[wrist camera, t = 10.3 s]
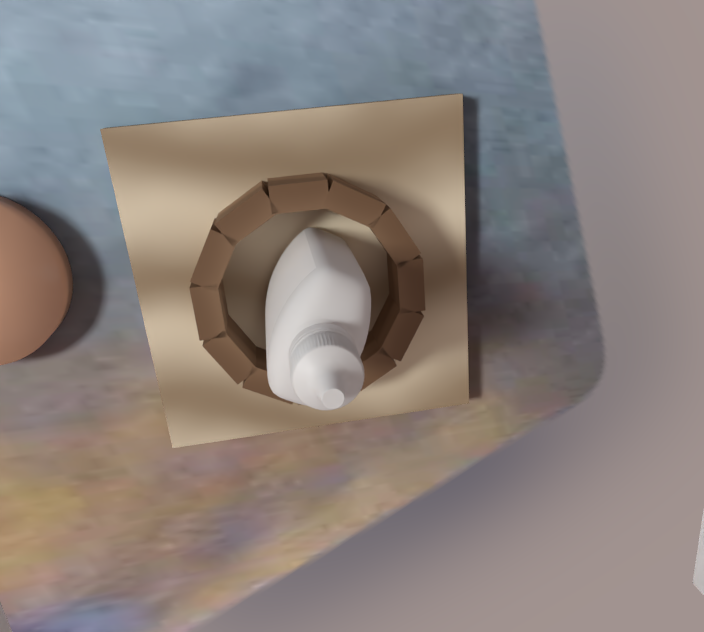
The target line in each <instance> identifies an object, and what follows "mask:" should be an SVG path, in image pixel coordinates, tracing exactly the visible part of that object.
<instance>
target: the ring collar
mask: <svg viewBox="0 0 704 632" xmlns="http://www.w3.org/2000/svg"><path fill="white" fill-rule="evenodd" d="M100 130H101V135H102V139H103V143H104V148H105V152H106V157H107V161H108V165H109V170H110V174H111V179H112V183H113V187H114V192H115V196H116V201H117V205H118V209H119V214H120V218H121V223H122V227H123V231H124V236H125V240H126V244H127V249H128V253H129V258H130V262H131V266H132V271H133V275H134V280H135V284H136V288H137V293H138V297H139V302H140V306H141V310H142V315H143V319H144V324H145V328H146V332H147V337H148V341H149V346H150V350H151V354H152V359H153V363H154V368H155V372H156V376H157V381H158V385H159V390H160V394H161V398H162V403H163V407H164V412H165V416H166V420H167V425H168V429H169V434H170V438H171V442H172V447H173V448H176V447H183V446H190V445H196V444H203V443H210V442H216V441H223V440H229V439H236V438H243V437H249V436H256V435H263V434H269V433H276V432H282V431H289V430H296V429H302V428H309V427H315V426H322V425H329V424H335V423H342V422H349V421H355V420H362V419H368V418H375V417H382V416H388V415H395V414H401V413H408V412H415V411H421V410H428V409H435V408H441V407H448V406H454V405H461V404H468V403H469V374H468V326H467V278H466V230H465V181H464V133H463V94H448V95H438V96H427V97H417V98H407V99H397V100H387V101H376V102H366V103H356V104H346V105H335V106H325V107H315V108H305V109H294V110H284V111H274V112H264V113H253V114H243V115H233V116H223V117H212V118H202V119H192V120H182V121H172V122H161V123H151V124H141V125H131V126H120V127H110V128H103V129H100ZM309 227H312V228H318V229H321V230H323V231H326V232H328V233H331V234H333V235H336V236H338V237H340V238H342V239H343V240H344V241H346V243H347V245H348V246H349V248H350V250H351V252H352V253H353V255H354V257H355V259H356V260H357V262H358V264H359V266H360V268H361V270H362V271H363V273H364V275H365V278H366V280H367V282H368V285H369V287H370V293H371V317H370V325H369V330H368V335H367V339H366V343H365V346H364V349H363V351H362V353H361V356H360V358H361V361H362V363H363V366H364V373H365V375H364V377H365V378H364V382H363V386H362V389H361V390H360V392H359V394H358V395H357V396H356V398H354V400H352V401H351V402H350V403H348V404H347V405H345V406H343V407H342V408H338V409H335V410H327V411H326V410H323V411H322V410H318V409H315V408H312V407H308V406H306V405H301V404H298V403H294V402H291V401H288V400H285V399H283V398H280V397H278V396H277V395H276V394H274V393H273V392H272V390H271V388H270V386H269V383H268V376H267V361H266V326H265V305H266V296H267V290H268V286H269V282H270V279H271V276H272V273H273V271H274V268H275V266H276V264H277V262H278V260H279V258H280V257H281V255H282V254H283V252H284V251H285V249H286V248H287V247H288V245H289V244H290V243H291V242H292V240H293V239H294V238H295V237H296V236H297V235H298V234H299V233H300V232H302V231H303V230H304V229H306V228H309Z"/></svg>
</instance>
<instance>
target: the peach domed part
mask: <svg viewBox="0 0 704 632" xmlns="http://www.w3.org/2000/svg"><path fill="white" fill-rule="evenodd" d="M72 292H73V277H72V272H71V266H70V263H69V260H68V257H67V255H66V253H65V251H64V248H63V246H62V245H61V243H60V242H59V240H58V238H57V237H56V235H55V234H54V233H53V232H52V231H51V229H50V228H49V227H48V226H47V225H46V224H45V223H44V222H43V221H42V220H41V219H40V218H39V217H37V216H36V215H35V214H33V213H32V212H31V211H29V210H28V209H26V208H25V207H23V206H21V205H20V204H18V203H16V202H14V201H12V200H9V199H7V198H5V197H2V196H0V365H4V364H8V363H11V362H15V361H17V360H20V359H22V358H24V357H26V356H28V355H29V354H31V353H33V352H34V351H36V350H37V349H38V348H39V347H40V346H41V345H43V344H44V342H45V341H46V340H47V339H48V338H49V337H50V336H51V335H52V333H53V332H54V331H55V330H56V329H57V328H58V327H59V325H60V324H61V322H62V321H63V319H64V318H65V316H66V314H67V311H68V309H69V307H70V303H71V299H72Z"/></svg>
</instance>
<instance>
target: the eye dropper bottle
mask: <svg viewBox="0 0 704 632" xmlns="http://www.w3.org/2000/svg"><path fill="white" fill-rule="evenodd" d="M370 317H371V293H370V287H369V285H368V282H367V280H366V278H365V275H364V273H363V271H362V270H361V268H360V266H359V264H358V262H357V260H356V259H355V257H354V255H353V253H352V252H351V250H350V248H349V246H348V245H347V243H346V241H344V240H343V239H342V238H340V237H338V236H336V235H333V234H331V233H328V232H326V231H323V230H321V229H318V228H312V227H309V228H306V229H304V230H303V231H302V232H300V233H299V234H298V235H297V236H296V237H295V238H294V239H293V240H292V242H291V243H290V244H289V245H288V247H287V248H286V249H285V251H284V252H283V254H282V255H281V257H280V258H279V260H278V262H277V264H276V266H275V268H274V271H273V273H272V276H271V279H270V282H269V286H268V290H267V296H266V305H265V326H266V361H267V376H268V383H269V386H270V388H271V390H272V392H273V393H274V394H276V395H277V396H278V397H280V398H283V399H285V400H288V401H291V402H294V403H298V404H301V405H306V406H308V407H312V408H315V409H318V410H322V411H323V410H326V411H327V410H335V409H338V408H342V407H343V406H345V405H347V404H348V403H350V402H351V401H352V400H354V398H356V396H357V395H358V394H359V392H360V390H361V389H362V386H363V382H364V378H365V377H364V375H365V373H364V366H363V363H362V361H361V358H360V356H361V353H362V351H363V349H364V346H365V343H366V339H367V335H368V330H369V325H370Z"/></svg>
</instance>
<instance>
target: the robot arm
mask: <svg viewBox="0 0 704 632" xmlns="http://www.w3.org/2000/svg"><path fill="white" fill-rule="evenodd" d="M693 584H694V585H695V586H696V587H697V588H698V590H699V591H700V592H701V593H702V594H703V595H704V511H703V517H702V524H701V530H700V537H699V544H698V551H697V557H696V565H695V571H694V578H693ZM0 632H12V630H11V628H10V625H9V623H8V620H7V618H6V615H5V613H4V610H3V608H2V605H1V602H0Z"/></svg>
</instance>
